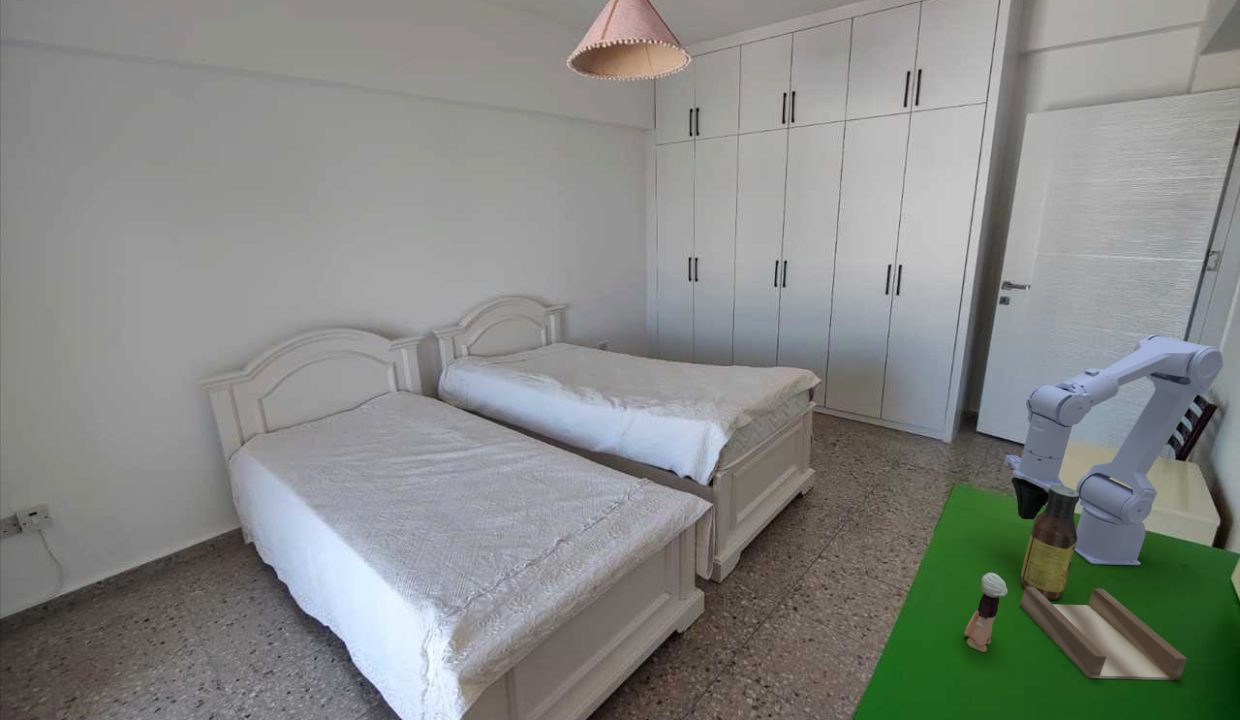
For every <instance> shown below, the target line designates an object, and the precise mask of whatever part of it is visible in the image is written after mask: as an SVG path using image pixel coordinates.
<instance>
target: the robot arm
mask: <svg viewBox="0 0 1240 720" xmlns="http://www.w3.org/2000/svg"><path fill="white" fill-rule="evenodd" d="M1223 367H1224V361H1223V355H1222V352H1221V350H1220V349H1219V348H1218V347H1217V346H1212V345H1203V344H1199V343H1193V342H1190V341H1185V340H1180V339H1175V338H1170V337H1166V336H1163V335H1160V334H1157V333H1156V334H1151V335H1148V336H1146V337H1145V338H1143V339H1141V340H1138V341H1137V343H1136V345H1135V347H1134V349H1133V351H1132V352H1131V353H1130V354H1128V355H1126V356H1125V357H1123V358H1121V359H1120V360H1118V361H1116V362H1115V363H1113V364H1111V365H1109V366H1107V367H1106V368H1104V369H1101V368H1098V367H1097V368H1094V367H1093V368H1091V367H1090V368H1087V369H1085V370H1084V371H1083V372H1081V373H1079V374H1076V375H1075V376H1072V377H1070V378H1068V379H1065V380H1064V381H1062V382H1060V383H1058V384H1055V385H1052V384H1046V385H1041V386H1039V387H1037V388H1035V389H1034V390H1033V391H1032V392H1031V394H1030V395H1029V398H1026V402H1025V406H1026V409H1027V411H1028V416H1027V420H1028V422H1029V425H1028V426H1029V427H1028V430H1027V431H1028V432H1027V434H1026V438H1025V443H1024V446H1023V449H1022V450H1023V451H1022V455H1021V457H1020V456H1017V455H1014V454H1013V455H1010V454H1009V455H1005V458H1004V462H1003V464H1004V465H1005V467H1011V468H1013V470H1012V473H1011V474H1012V476H1013V477H1012V478H1011V483H1012V485H1013V488H1014V491H1015V495H1016V501H1017V502H1016V503H1017V513H1018V516H1019V517H1020V518H1021V519H1023V520H1033V521H1034V520H1035V518H1036V517H1037V516H1038V515H1039V513H1040V511H1041V510H1042V509H1043V507H1044V506H1045V505H1047V502H1048V498H1049V494H1048V492H1049V488H1050V486H1053V485H1059V486H1064V487H1067V486H1066V485H1065V484H1064V482H1062V480H1061V479H1060V478H1059V475H1060V472H1061V468H1062V465H1063V461H1064V458H1065V454H1066V449H1067V447H1068V442H1069V439H1070V435H1071V433H1072V428H1073V426H1074V425H1078V424H1079V423H1080V422H1082V420H1083V419H1084V418H1085V416H1086V415H1087V414H1088V413H1090V411H1091V410H1092V408H1093V407H1095V406H1097V405H1099V404H1101V403H1103V402H1106V401H1108V400H1109V399H1111V398H1114V397H1115V396H1117V394H1118V393H1119V389H1120V388H1119V387H1121V386H1124V385H1125V384H1128V383H1132V382H1133V381H1136V380H1139V379H1141V378H1144V377H1146V378H1147V379H1148V380H1149V381H1150V382H1152V383H1153V385H1154V388H1155V390H1154V392H1153V394H1152V395H1151V397H1150V398H1149V400H1148V402H1147V404H1146V405H1145V407H1144V408H1143V410H1142V412H1141V414H1140V415H1139V416H1138V418H1137V419H1136V421H1135V424H1134V425H1133V426H1132V428H1131V429H1130V431H1129V433H1128V434H1127V436H1126V438H1125V440H1124V441H1123V442H1122V444H1121V446H1120V447H1119V449H1118V451H1117V452H1116V454H1115V456H1114V457H1113V459H1112V460H1111V461H1110V462H1106V463H1099V464H1098V463H1097V464H1094V465H1092V467H1091V468H1090V470H1089V471H1088V472H1087V473H1086V474H1085V475H1084V476H1081V478H1080V479H1079V480H1078V482H1077V484H1076V489H1075V491H1077V492H1078V493H1079V500H1080V503H1079V505H1080V506H1082V510H1081V514H1080V518H1079V521H1078V524H1077V527H1076V533H1077V543H1076V547H1075V550H1074V552H1075V553H1077V554H1078V555H1079V556H1081V557H1082V558H1083V559H1084V560H1085V561H1087V562H1089V563H1090V564H1091V565H1112V566H1113V565H1116V566H1118V565H1119V566H1140V565H1141V562H1140V561H1139V560H1138V558H1139V556H1140V552H1141V549H1142V547H1143V544H1144V540H1145V538H1146V534H1147V533H1146V526H1145V525H1144V523H1143V521H1145V519H1147V518H1148V517H1149V515H1150V513H1151V512H1152V508H1153V503H1154V501H1155V499H1156V497H1157V495H1158V492H1157V490H1156V488H1155V487H1154V485H1153V484H1152V482H1151V481H1150V479H1149V478H1148V477H1147V475H1148V473H1149V472H1150V470H1151V468H1152V467H1153V466H1154V463H1155V462H1156V460H1157V459H1158V457H1159V456H1160V455H1161V453H1162V451H1163V449H1164V448H1165V446H1166V445H1167V443H1168V441H1169V440H1170V438H1171V437H1172V435H1173V433H1174V432H1175V430H1176V429H1177V427H1178V425H1179V424H1180V423H1181V422H1182V420H1183V417H1184V416H1185V415H1186V413H1187V412H1188V410H1189V408H1190V406H1191V405H1192V403H1194V400H1195V398H1196V397H1197V396H1199V395H1201V396H1202V395H1205V394H1207V392H1208V390H1209V389H1210V388H1211V386H1212V384H1213V383H1214V381H1215V379H1216V378H1217V377H1218V376H1219V374H1220V372H1221V370H1222V369H1223ZM1111 478H1112V479H1111ZM1115 480H1116V481H1115ZM1122 483H1123V484H1122ZM1125 485H1127V486H1125Z"/></svg>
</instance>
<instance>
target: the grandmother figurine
mask: <svg viewBox="0 0 1240 720" xmlns="http://www.w3.org/2000/svg"><path fill="white" fill-rule="evenodd" d="M980 588H981V591H982V593H983V594H982V596H981V597H980V599H979V604H978V608H977V610H975V612H974V614H973V615H972V617H971V618H970V620H969V622H968V624H967V626H966V628H965V630H964V635H965V636H967V637H968V638H967V639H966V644H967V645H968V646H969V647H970V648H973V649H974V650H977V651H979V652H981V653H986V652H988V647H987V645H990V644H992V639H991V637H992V633H993V632H992V631H993V630H992V629H993V624H994V621H995V618H996V616H997V614H998V611H999V608H1000V605H999V604H1000V597H1005V596H1006V595H1008V592H1009V591H1008V588H1007V585H1006V582H1005V580H1004V579H1003V578H1001V576H999V575H998V574H997V573H994V572H987V573H986V574H984V575H983V576H982V578H981V585H980Z"/></svg>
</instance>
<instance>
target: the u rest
mask: <svg viewBox="0 0 1240 720" xmlns="http://www.w3.org/2000/svg"><path fill="white" fill-rule="evenodd" d="M1019 607H1021V608H1022V610H1023V612H1025V613H1026V614H1027V615H1028V616H1029V617H1030V618H1031V619H1032V620H1033V621H1034V622H1035V623H1036V624H1037V625H1038V626H1039V628H1040V629H1042V630H1043V632H1044V633H1045V634H1046V635H1047V636H1048V638H1050V639H1051V640H1052V641H1053V642H1054V643H1055V644H1056V645H1057V647H1059V649H1061V650H1062V652H1063V653H1064V654H1065V655H1066V656H1067V657H1068V658H1069V659H1070V660H1071V661H1072V662H1073V663H1074V664H1075V665H1076V666H1077V668H1079V669H1080V670H1081V672H1083V674H1084V675H1085V676H1086V677H1087V678H1089V679H1117V680H1118V679H1119V680H1150V681H1153V680H1155V681H1159V680H1160V681H1180V679H1181V675H1182V673H1183V670H1184V668H1185V666H1186V663H1187V660H1188V658H1187V657H1186V656H1185V655H1183V654H1182V653H1181V652H1180V651H1179V650H1177V649H1176V648H1175V647H1173V646H1172V645H1171V644H1170V643H1169V642H1167V640H1165V639H1164V637H1161V636H1160V635H1159V634H1158V632H1155V631H1154V630H1153V629H1152V628H1151V627H1150V626H1148V625H1147V624H1146V623H1145V622H1144V621H1142V619H1140V618H1138V616H1136V615H1135V614H1134V613H1133V612H1132V611H1130V610H1129V609H1128V608H1127V607H1126V606H1125V605H1123V604H1122V603H1121V602H1120V601H1118V600H1117V599H1116V598H1115V597H1113V596H1112V595H1111V594H1110V593H1108V592H1107V591H1106V590H1105V589H1104V588H1098V587H1097V588H1096V587H1095V588H1094V587H1093V590H1092V593H1091V595H1090V599H1089V601H1088V604H1058V603H1057V604H1053V603H1052V602H1050V600H1049V599H1046V598H1045V597H1044V596H1043V595H1042V594H1041V593H1040V592H1039V591H1038V590H1037V589H1036V588H1035V587H1025V588H1024V591H1023V594H1022V598H1021V601H1020V605H1019Z"/></svg>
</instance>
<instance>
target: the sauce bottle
mask: <svg viewBox="0 0 1240 720" xmlns="http://www.w3.org/2000/svg"><path fill="white" fill-rule="evenodd" d="M1048 494H1049V498H1048V502H1047V503H1046V506H1045V509H1044V510H1043V511H1042V512H1041V513H1040V514H1037V515H1036V517H1035V518H1034V520H1033V526H1032V529H1031V531H1030V535H1029V538H1028V539H1029V540H1028V543H1027V546H1026V551H1025V556H1024V560H1023V562H1022V563H1023V565H1022V568H1021V573H1020V583H1021V586H1022V587H1023V588H1024V589H1025V587H1035V588H1036V589H1037V590H1038V591H1039V592H1040V593H1041V594H1042V595H1043V596H1044V597H1045V598H1046V599H1047V600H1058V599H1060V598H1061V596H1062V595H1063V591H1065V588H1066V584H1067V580H1068V577H1069V572H1070V568H1071V565H1072V561H1073V558H1074V554H1075V547H1076V543H1077V533H1076V530H1077V527H1076V522H1075V517H1074V516H1075V514H1074V513H1075V510H1076V507H1077V504H1078V503H1079V501H1080V499H1079V493H1078V492H1077V491H1076V489H1073V488H1070V487H1068V486H1066V487H1064V486H1059V485H1053V486H1050V488H1049V492H1048Z"/></svg>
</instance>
